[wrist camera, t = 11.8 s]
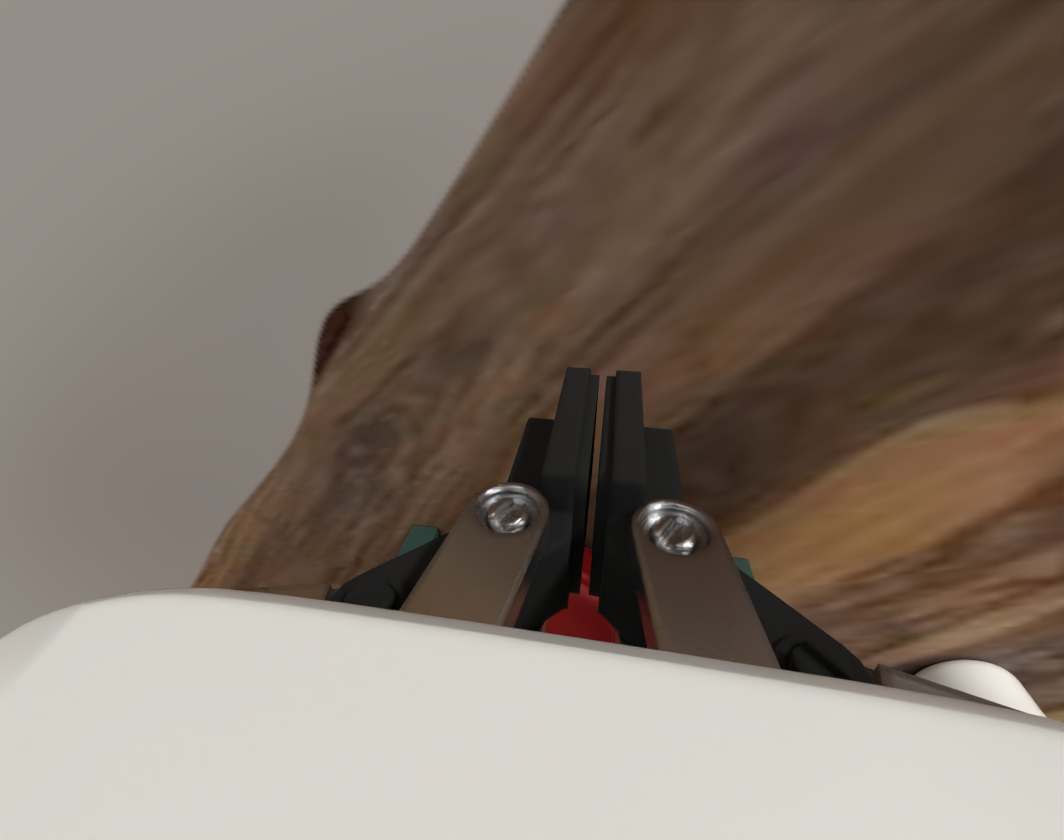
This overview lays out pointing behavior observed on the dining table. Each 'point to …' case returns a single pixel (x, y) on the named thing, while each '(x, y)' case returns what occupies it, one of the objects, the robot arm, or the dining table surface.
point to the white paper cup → (982, 683)
